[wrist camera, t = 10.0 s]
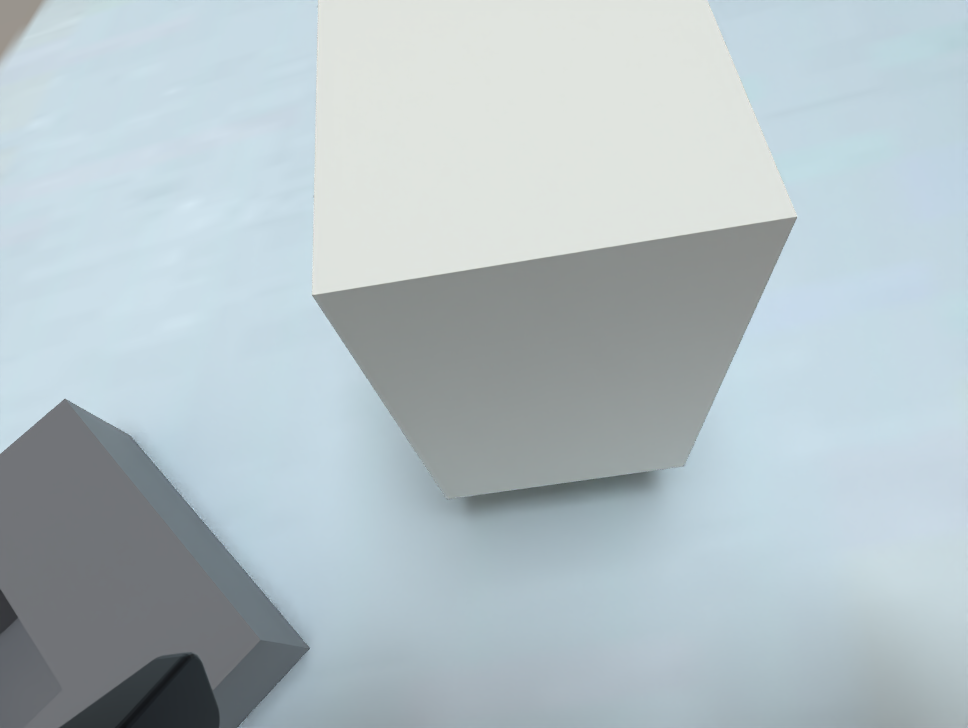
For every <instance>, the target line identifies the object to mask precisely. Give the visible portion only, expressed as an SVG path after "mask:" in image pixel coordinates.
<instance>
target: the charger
mask: <svg viewBox="0 0 968 728" xmlns="http://www.w3.org/2000/svg"><path fill="white" fill-rule="evenodd" d="M796 218H797V214H796V212H795V210H794V207H793V205H792V202H791V200H790V198H789V195H788V193H787V190H786V188H785V186H784V183H783V181H782V178H781V176H780V174H779V171H778V169H777V166H776V164H775V162H774V159H773V157H772V154H771V152H770V150H769V147H768V145H767V142H766V140H765V138H764V135H763V133H762V130H761V128H760V126H759V123H758V121H757V118H756V116H755V113H754V111H753V109H752V106H751V104H750V101H749V99H748V97H747V94H746V92H745V89H744V87H743V85H742V82H741V80H740V77H739V75H738V73H737V70H736V68H735V65H734V63H733V61H732V58H731V56H730V53H729V51H728V49H727V46H726V44H725V41H724V39H723V37H722V34H721V32H720V29H719V27H718V25H717V22H716V20H715V17H714V15H713V13H712V10H711V8H710V5H709V3H708V1H707V0H318V32H317V80H316V128H315V176H314V224H313V272H312V296H313V297H314V299H315V300H316V302H317V303H318V305H319V307H320V308H321V310H322V311H323V313H324V314H325V316H326V317H327V319H328V320H329V322H330V323H331V325H332V326H333V328H334V329H335V331H336V332H337V334H338V335H339V337H340V338H341V340H342V341H343V343H344V344H345V346H346V347H347V349H348V350H349V352H350V353H351V355H352V356H353V358H354V359H355V361H356V362H357V364H358V365H359V367H360V369H361V370H362V372H363V373H364V375H365V376H366V378H367V379H368V381H369V382H370V384H371V385H372V387H373V388H374V390H375V391H376V393H377V394H378V396H379V397H380V399H381V400H382V402H383V403H384V405H385V406H386V408H387V409H388V411H389V412H390V414H391V415H392V417H393V418H394V420H395V421H396V423H397V424H398V426H399V427H400V429H401V430H402V432H403V434H404V435H405V437H406V438H407V440H408V441H409V443H410V444H411V446H412V447H413V449H414V450H415V452H416V453H417V455H418V456H419V458H420V459H421V461H422V462H423V464H424V465H425V467H426V468H427V470H428V471H429V473H430V474H431V476H432V477H433V479H434V480H435V482H436V483H437V485H438V486H439V488H440V489H441V491H442V492H443V494H444V496H445V497H446V499H453V498H460V497H467V496H474V495H482V494H489V493H496V492H503V491H510V490H518V489H525V488H532V487H539V486H546V485H553V484H561V483H568V482H575V481H582V480H589V479H597V478H604V477H611V476H618V475H625V474H632V473H640V472H647V471H654V470H661V469H668V468H676V467H683V466H684V465H685V463H686V461H687V459H688V457H689V454H690V452H691V450H692V448H693V446H694V443H695V441H696V439H697V437H698V434H699V432H700V430H701V428H702V426H703V423H704V421H705V419H706V417H707V415H708V412H709V410H710V408H711V406H712V404H713V401H714V399H715V397H716V395H717V393H718V390H719V388H720V386H721V384H722V382H723V379H724V377H725V375H726V373H727V371H728V368H729V366H730V364H731V362H732V360H733V357H734V355H735V353H736V351H737V349H738V346H739V344H740V342H741V340H742V338H743V335H744V333H745V331H746V329H747V326H748V324H749V322H750V320H751V318H752V315H753V313H754V311H755V309H756V307H757V304H758V302H759V300H760V298H761V296H762V293H763V291H764V289H765V287H766V285H767V282H768V280H769V278H770V276H771V274H772V271H773V269H774V267H775V265H776V263H777V260H778V258H779V256H780V254H781V252H782V249H783V247H784V245H785V243H786V241H787V238H788V236H789V234H790V232H791V230H792V227H793V225H794V223H795V221H796Z"/></svg>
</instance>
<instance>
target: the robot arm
mask: <svg viewBox="0 0 968 728" xmlns="http://www.w3.org/2000/svg"><path fill="white" fill-rule="evenodd" d="M219 726H220V713H219V707H218V704H217V701H216V698H215V696H214V693H213V690H212V687H211V685H210V682H209V679H208V676H207V673H206V671H205V668H204V665H203V663H202V660H201V658H200V657H199V656H198V655H197V654H195V653H192V652H185V653H177V654H169V655H163V656H160V657H157V658H155V659H154V660H152V661H151V662H149V663H148V664H147V665H145V666H144V667H142V668H141V669H140V670H138V671H137V672H135V673H134V674H133V675H131V676H130V677H129V678H127V679H126V680H124V681H123V682H122V683H120V684H119V685H117V686H116V687H115V688H113V689H112V690H110V691H109V692H108V693H106V694H105V695H103V696H102V697H101V698H99V699H98V700H97V701H95V702H94V703H92V704H91V705H90V706H88V707H87V708H85V709H84V710H83V711H81V712H80V713H78V714H77V715H76V716H74V717H73V718H71V719H70V720H69V721H67V722H66V723H65V724H63V725H62V726H60V727H59V728H219Z"/></svg>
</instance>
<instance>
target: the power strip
mask: <svg viewBox="0 0 968 728" xmlns="http://www.w3.org/2000/svg"><path fill="white" fill-rule="evenodd" d="M309 649H310V648H309V646H308V645H307V644H306V643H305V642H304V641H303V639H302V638H301V637H300V636H299V635H298V633H297V632H296V631H295V630H294V629H293V628H292V626H291V625H290V624H289V623H288V622H287V620H286V619H285V618H284V617H283V616H282V615H281V613H280V612H279V611H278V610H277V609H276V607H275V606H274V605H273V604H272V603H271V602H270V600H269V599H268V598H267V597H266V596H265V594H264V593H263V592H262V591H261V590H260V589H259V587H258V586H257V585H256V584H255V583H254V581H253V580H252V579H251V578H250V577H249V576H248V574H247V573H246V572H245V571H244V570H243V568H242V567H241V566H240V565H239V564H238V563H237V561H236V560H235V559H234V558H233V557H232V555H231V554H230V553H229V552H228V551H227V550H226V548H225V547H224V546H223V545H222V544H221V542H220V541H219V540H218V539H217V538H216V537H215V535H214V534H213V533H212V532H211V531H210V529H209V528H208V527H207V526H206V525H205V524H204V522H203V521H202V520H201V519H200V518H199V516H198V515H197V514H196V513H195V512H194V511H193V509H192V508H191V507H190V506H189V505H188V503H187V502H186V501H185V500H184V499H183V498H182V496H181V495H180V494H179V493H178V492H177V490H176V489H175V488H174V487H173V486H172V484H171V483H170V482H169V481H168V480H167V479H166V477H165V476H164V475H163V474H162V473H161V471H160V470H159V469H158V468H157V467H156V466H155V464H154V463H153V462H152V461H151V460H150V458H149V457H148V456H147V455H146V454H145V453H144V451H143V450H142V449H141V448H140V447H139V445H138V444H137V443H136V442H135V441H134V440H133V438H132V437H131V436H130V435H128V434H126V433H125V432H123V431H121V430H119V429H118V428H116V427H114V426H112V425H110V424H109V423H107V422H105V421H103V420H102V419H100V418H98V417H96V416H95V415H93V414H91V413H89V412H87V411H86V410H84V409H82V408H80V407H79V406H77V405H75V404H73V403H72V402H70V401H68V400H66V399H64V400H63V401H62V402H61V403H59V404H58V405H57V406H56V407H55V408H54V409H52V410H51V411H50V412H49V413H48V414H46V415H45V416H44V417H43V418H42V419H41V420H39V421H38V422H37V423H36V424H35V425H34V426H32V427H31V428H30V429H29V430H28V431H27V432H25V433H24V434H23V435H22V436H21V437H20V438H18V439H17V440H16V441H15V442H14V443H13V444H11V445H10V446H9V447H8V448H7V449H6V450H4V451H3V452H2V453H1V454H0V728H59V727H60V726H62V725H63V724H65V723H66V722H67V721H69V720H70V719H71V718H73V717H74V716H76V715H77V714H78V713H80V712H81V711H83V710H84V709H85V708H87V707H88V706H90V705H91V704H92V703H94V702H95V701H97V700H98V699H99V698H101V697H102V696H103V695H105V694H106V693H108V692H109V691H110V690H112V689H113V688H115V687H116V686H117V685H119V684H120V683H122V682H123V681H124V680H126V679H127V678H129V677H130V676H131V675H133V674H134V673H135V672H137V671H138V670H140V669H141V668H142V667H144V666H145V665H147V664H148V663H149V662H151V661H152V660H154V659H155V658H157V657H160V656H163V655H169V654H177V653H185V652H192V653H195V654H197V655H198V656H199V657H200V658H201V660H202V663H203V665H204V668H205V671H206V673H207V676H208V679H209V682H210V685H211V687H212V690H213V693H214V696H215V698H216V701H217V704H218V707H219V713H220V726H219V728H237V727H238V726H239V725H240V723H241V722H242V721H243V720H244V719H245V718H246V717H247V716H248V715H249V714H250V713H251V712H252V710H253V709H254V708H255V707H256V706H257V705H258V704H259V703H260V702H261V701H262V700H263V699H264V697H265V696H266V695H267V694H268V693H269V692H270V691H271V690H272V689H273V688H274V687H275V686H276V684H277V683H278V682H279V681H280V680H281V679H282V678H283V677H284V676H285V675H286V674H287V673H288V671H289V670H290V669H291V668H292V667H293V666H294V665H295V664H296V663H297V662H298V661H299V659H300V658H301V657H302V656H303V655H304V654H305V653H306V652H307V651H308V650H309Z"/></svg>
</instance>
